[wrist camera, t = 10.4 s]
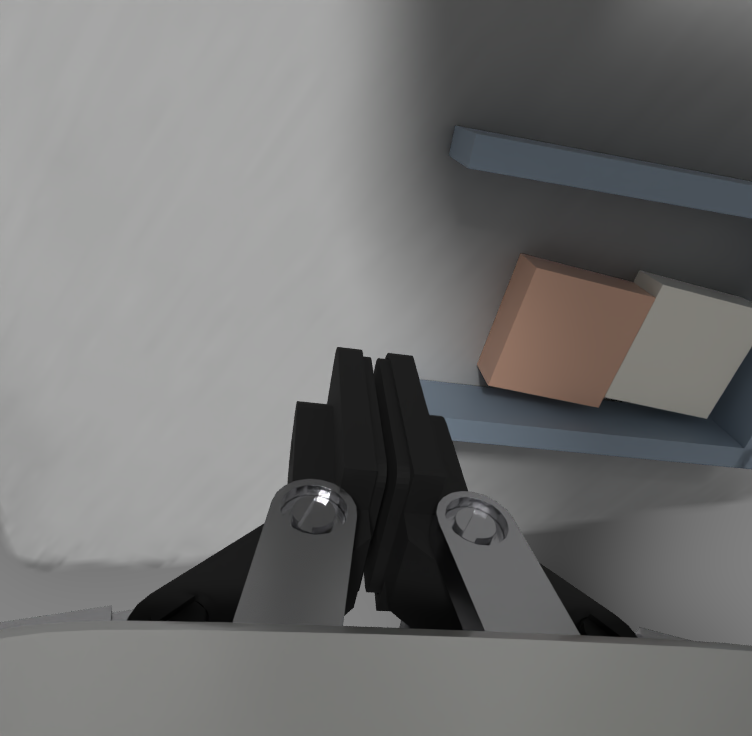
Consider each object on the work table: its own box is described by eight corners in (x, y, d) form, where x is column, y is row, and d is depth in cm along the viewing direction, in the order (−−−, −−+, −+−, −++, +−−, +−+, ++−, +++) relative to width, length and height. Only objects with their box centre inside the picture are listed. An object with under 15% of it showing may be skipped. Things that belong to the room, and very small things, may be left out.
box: (455, 125, 23) (476, 133, 20) (836, 197, 26) (904, 214, 23) (395, 397, 29) (404, 435, 26) (712, 431, 32) (754, 469, 29)
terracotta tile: (518, 251, 27) (536, 267, 24) (629, 279, 28) (655, 297, 26) (475, 361, 29) (488, 385, 27) (578, 383, 30) (598, 407, 28)
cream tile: (635, 267, 28) (662, 284, 25) (737, 294, 29) (772, 313, 27) (583, 373, 30) (604, 397, 28) (679, 394, 31) (706, 418, 29)
